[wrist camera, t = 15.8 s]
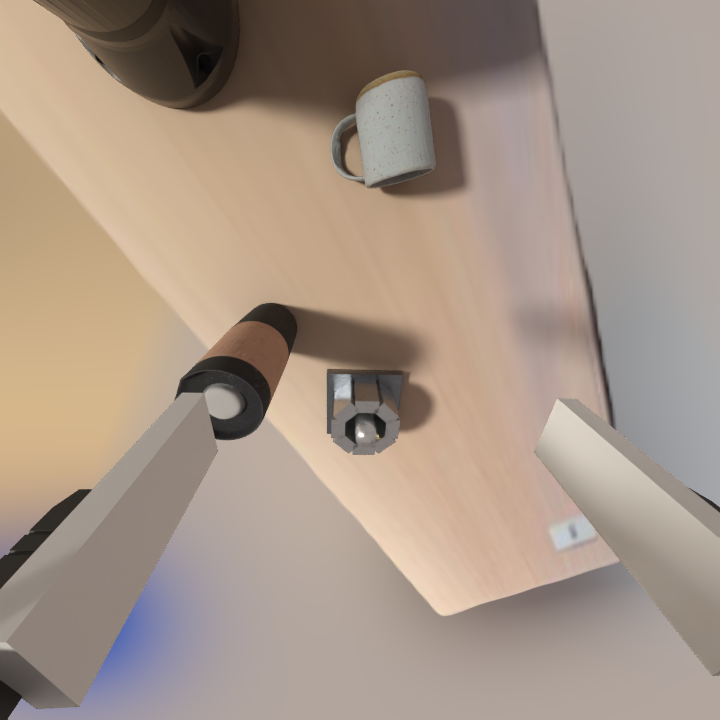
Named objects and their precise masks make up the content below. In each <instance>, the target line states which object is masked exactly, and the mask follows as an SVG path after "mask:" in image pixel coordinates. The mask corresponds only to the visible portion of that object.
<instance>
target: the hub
mask: <svg viewBox="0 0 720 720" xmlns="http://www.w3.org/2000/svg"><path fill="white" fill-rule="evenodd" d="M357 413H376V414H377V415H375V416H374V421H375V428H376V435H377V441H376V443H375V444H374V445H373V446H371V447H368V448H364V447H361V446H359V445H358V444H357V443H356V433H355V419H354V418H352V417H353V416H355V415H356V414H357ZM399 426H400V418H399V414H398V410H397V406H396V403H395V399H394V396H393V394H392V393H391V392H390V391H389V390H388V389H387V388H386V387H385V386H384V385H383V384H382V383H381V382H380V381H379V382H378V383H377V384H376V380H369V379H354V384H353V383H352V382H351V381H349V382H348V383H347V384H345V385H344V386H343V387H342V388H340V389H339V390H338V391H337V392H335V396H333V405H332V419H331V438H333V442H335V443H336V444H337V445H338V446H340V447H341V448H342V449H344V450H345V451H346V452H347V453H350V452H351V451H352V452H353V455H374V454H375V451H376V452H377V453H380V452H382V451H383V450H384V449H386V448H387V447H389V446H390V445H392V444H393V443H395V442H396V441H395V439H398V433H399Z"/></svg>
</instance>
